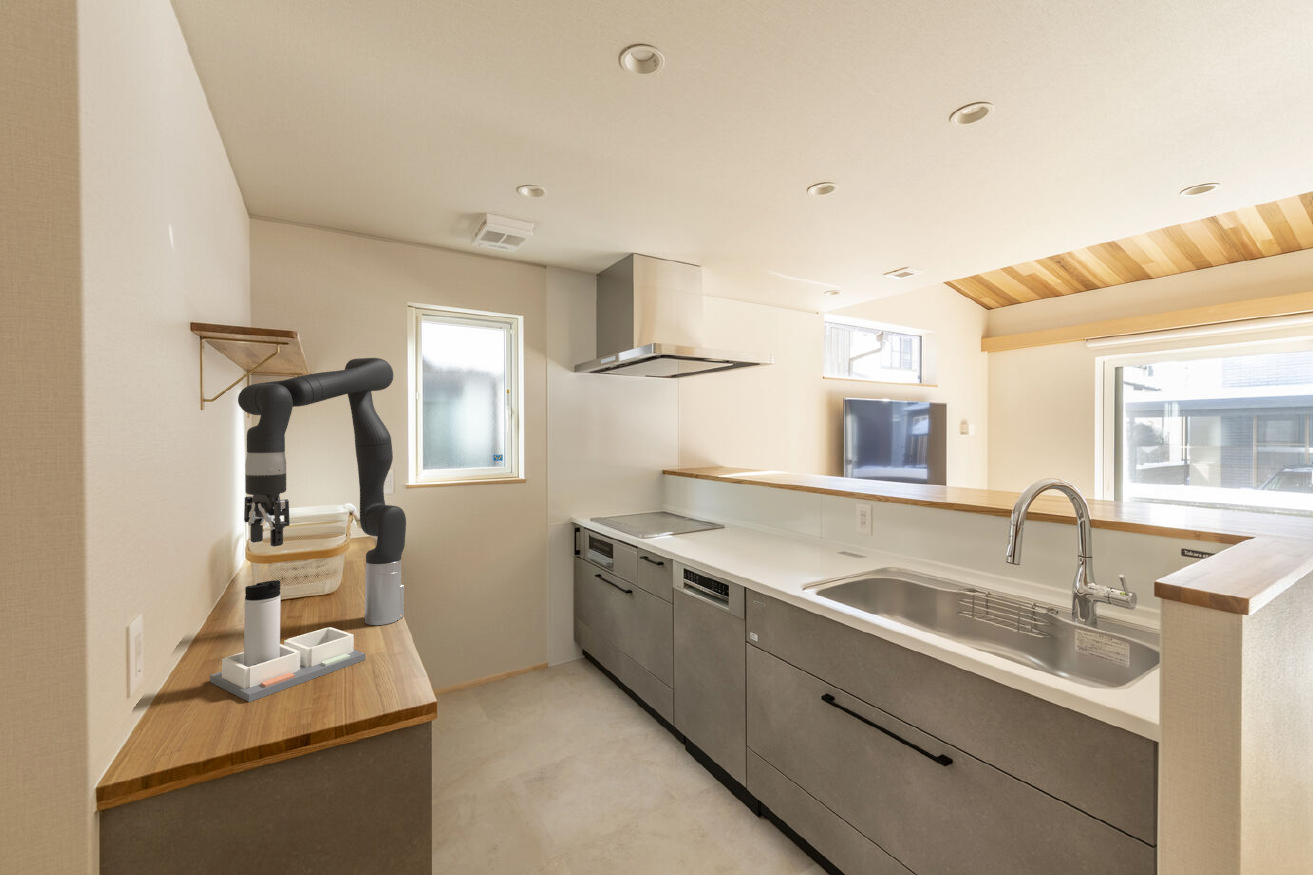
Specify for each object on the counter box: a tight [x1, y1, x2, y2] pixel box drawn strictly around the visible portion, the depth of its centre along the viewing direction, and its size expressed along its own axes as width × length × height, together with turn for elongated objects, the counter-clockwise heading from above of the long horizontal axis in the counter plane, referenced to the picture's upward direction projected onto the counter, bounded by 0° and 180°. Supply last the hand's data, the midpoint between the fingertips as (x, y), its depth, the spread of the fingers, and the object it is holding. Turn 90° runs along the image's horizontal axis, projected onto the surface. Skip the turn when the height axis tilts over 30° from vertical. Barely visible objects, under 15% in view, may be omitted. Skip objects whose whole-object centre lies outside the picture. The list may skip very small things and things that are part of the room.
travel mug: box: [243, 579, 282, 667], centre depth 116 cm, size 6×7×20 cm
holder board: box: [209, 626, 366, 703], centre depth 122 cm, size 24×17×6 cm
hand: (266, 543), depth 122 cm, fingers open, 8 cm apart
